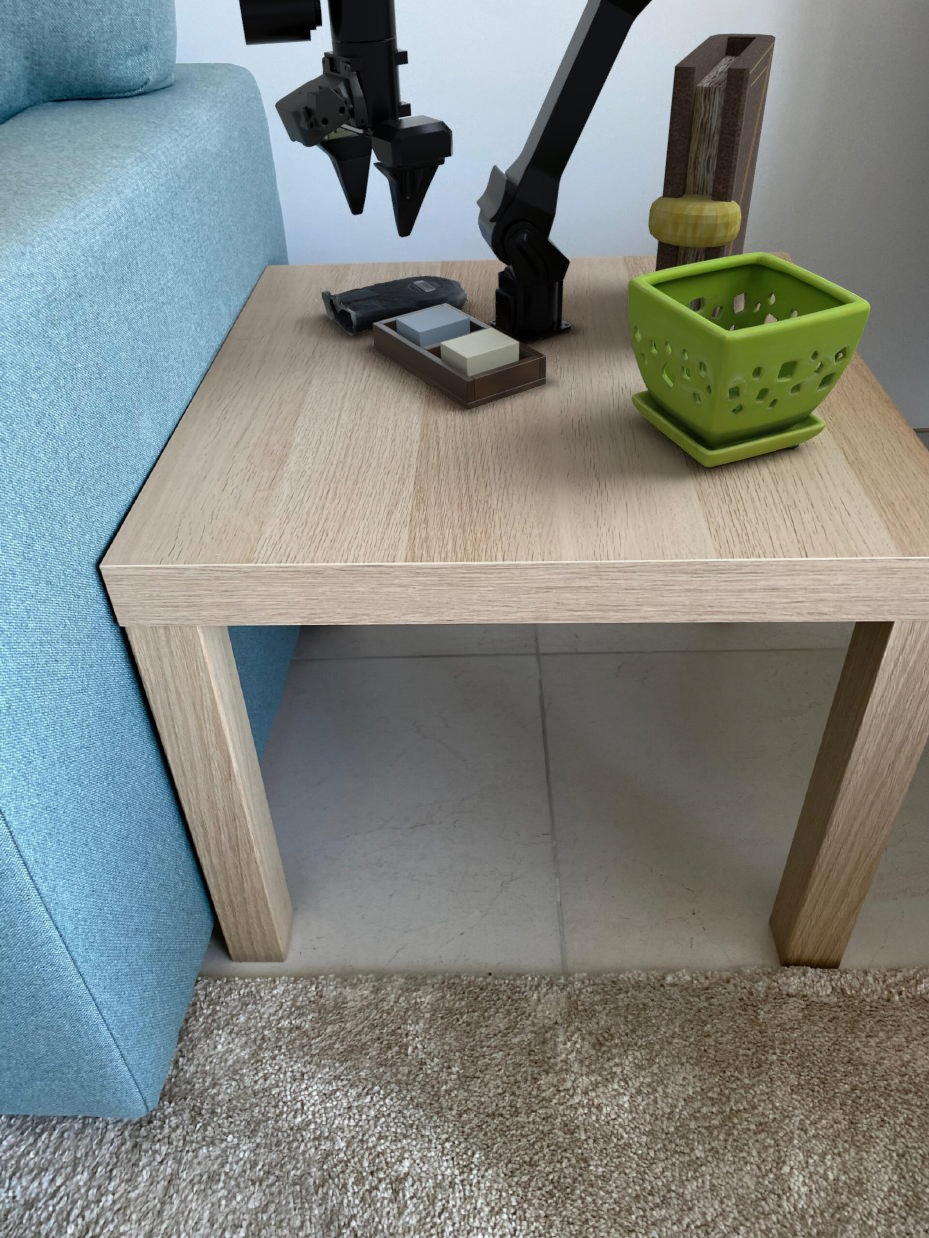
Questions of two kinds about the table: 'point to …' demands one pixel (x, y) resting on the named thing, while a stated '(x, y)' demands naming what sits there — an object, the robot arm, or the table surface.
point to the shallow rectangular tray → (451, 379)
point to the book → (712, 151)
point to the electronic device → (390, 301)
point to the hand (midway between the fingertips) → (380, 225)
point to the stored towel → (433, 326)
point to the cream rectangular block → (480, 351)
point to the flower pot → (740, 353)
